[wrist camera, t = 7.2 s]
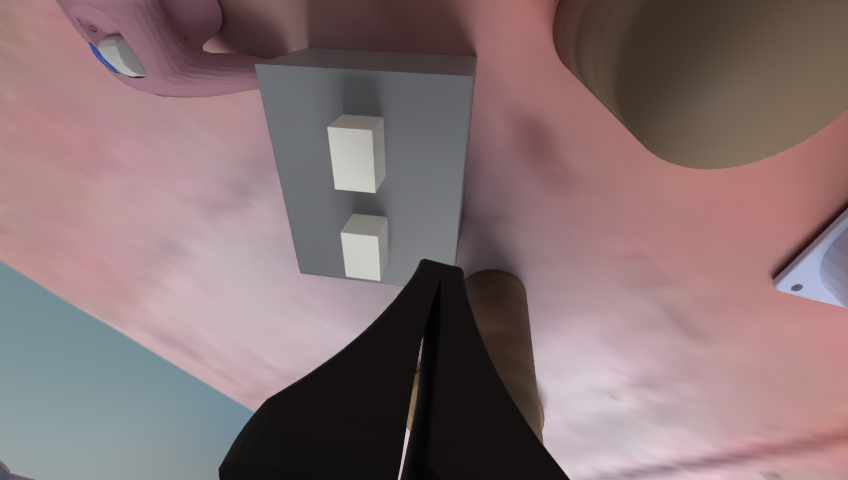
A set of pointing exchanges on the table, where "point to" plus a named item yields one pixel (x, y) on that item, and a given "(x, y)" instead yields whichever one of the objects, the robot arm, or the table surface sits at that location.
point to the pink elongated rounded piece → (162, 45)
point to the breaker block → (370, 157)
